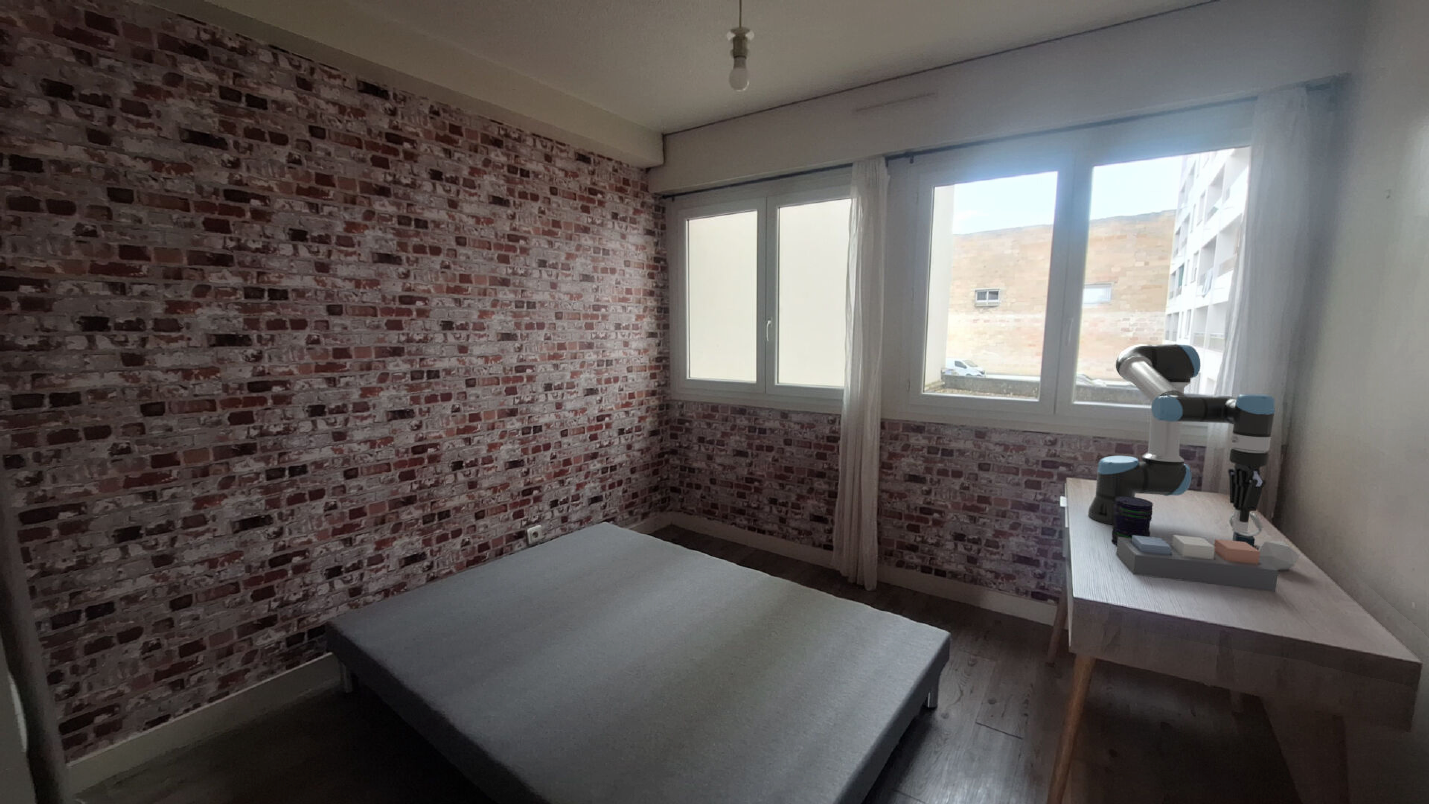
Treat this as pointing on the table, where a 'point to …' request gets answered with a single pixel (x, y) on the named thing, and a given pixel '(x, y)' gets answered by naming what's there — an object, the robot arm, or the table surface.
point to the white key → (1193, 547)
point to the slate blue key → (1151, 544)
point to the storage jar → (1131, 517)
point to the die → (1278, 555)
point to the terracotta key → (1236, 551)
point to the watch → (1247, 536)
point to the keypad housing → (1197, 568)
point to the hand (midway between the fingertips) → (1239, 531)
